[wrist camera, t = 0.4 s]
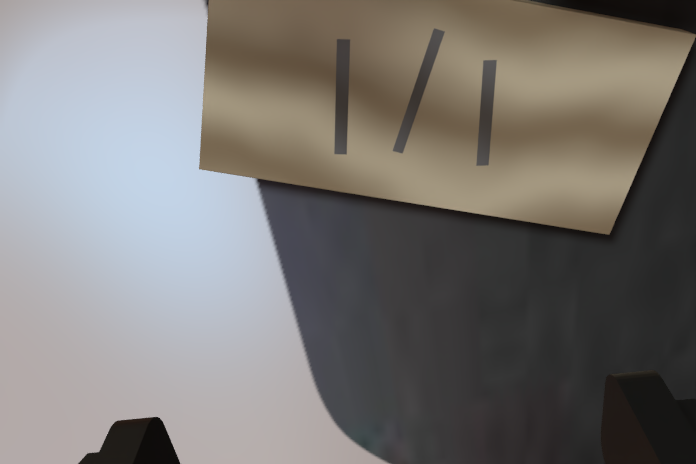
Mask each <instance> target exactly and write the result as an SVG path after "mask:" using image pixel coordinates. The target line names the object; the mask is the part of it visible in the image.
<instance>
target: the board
mask: <svg viewBox="0 0 696 464" xmlns="http://www.w3.org/2000/svg"><path fill="white" fill-rule="evenodd" d="M695 37H696V35H695V34H693V33H690V32H688V31H685V30H682V29H677V28H672V27H666V26H661V25H656V24H650V23H645V22H640V21H634V20H629V19H624V18H618V17H613V16H608V15H603V14H597V13H592V12H587V11H581V10H576V9H571V8H565V7H560V6H555V5H549V4H544V3H539V2H533V1H528V0H209V6H208V23H207V42H206V59H205V60H206V61H205V77H204V94H203V113H202V131H201V149H200V165H199V169H202V170H208V171H214V172H221V173H227V174H233V175H240V176H246V177H252V178H258V179H264V180H270V181H277V182H283V183H289V184H295V185H302V186H308V187H314V188H320V189H327V190H333V191H339V192H345V193H352V194H358V195H364V196H370V197H377V198H383V199H389V200H395V201H402V202H408V203H414V204H420V205H427V206H433V207H439V208H445V209H452V210H458V211H464V212H470V213H477V214H483V215H489V216H495V217H502V218H508V219H514V220H520V221H526V222H533V223H539V224H545V225H551V226H558V227H564V228H570V229H576V230H583V231H589V232H595V233H601V234H608V235H609V234H610V232H611V230H612V227H613V225H614V223H615V221H616V218H617V216H618V214H619V211H620V209H621V207H622V204H623V202H624V200H625V198H626V195H627V193H628V191H629V188H630V186H631V184H632V182H633V179H634V177H635V175H636V172H637V170H638V168H639V166H640V163H641V161H642V159H643V156H644V154H645V152H646V149H647V147H648V145H649V143H650V140H651V138H652V136H653V133H654V131H655V129H656V127H657V124H658V122H659V120H660V117H661V115H662V113H663V110H664V108H665V106H666V104H667V101H668V99H669V97H670V94H671V92H672V90H673V88H674V85H675V83H676V81H677V78H678V76H679V74H680V72H681V69H682V67H683V65H684V62H685V60H686V58H687V55H688V53H689V51H690V49H691V46H692V44H693V42H694V39H695Z"/></svg>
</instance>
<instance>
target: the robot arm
mask: <svg viewBox="0 0 696 464" xmlns="http://www.w3.org/2000/svg"><path fill="white" fill-rule="evenodd" d="M601 446H602V452H603V457H604V461H605V464H696V400H695V399H686V400H675V399H674V397H673V396H672V394H671V392H670V391H669V389H668V388H667V386H666V384H665V383H664V381H663V379H662V378H661V377H660V375H659V374H658V373H657V372H656V371H653V370H651V371H641V372H631V373H620V374H610V375H608V376H607V377H606V381H605V391H604V402H603V414H602V425H601ZM79 464H180V462H179V459H178V457H177V455H176V452H175V450H174V447H173V445H172V443H171V440H170V438H169V435H168V433H167V431H166V428H165V426H164V424H163V422H162V420H161V419H160V418H158V417H152V418H142V419H132V420H121V421H116V422H115V423H114V424H113V425H112V426H111V428H110V430H109V432H108V434H107V436H106V439H105V441H104V443H103V445H102V447H101V450H100V452H97V453H88V454H87V455H86V456H85V457H84V458H83V459H82V460H81V461H80V463H79Z"/></svg>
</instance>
